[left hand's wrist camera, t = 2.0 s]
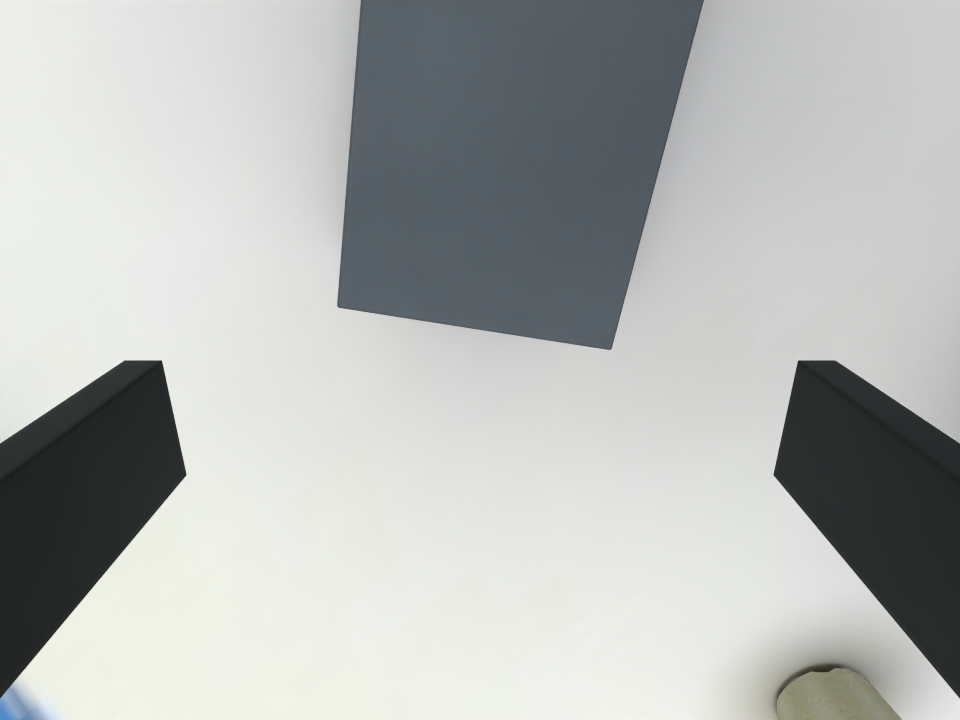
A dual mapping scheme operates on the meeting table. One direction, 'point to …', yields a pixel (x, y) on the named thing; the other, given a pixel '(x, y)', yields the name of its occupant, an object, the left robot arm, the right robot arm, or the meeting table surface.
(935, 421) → the meeting table surface
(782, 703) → the flower pot
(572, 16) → the dark grey long bar
